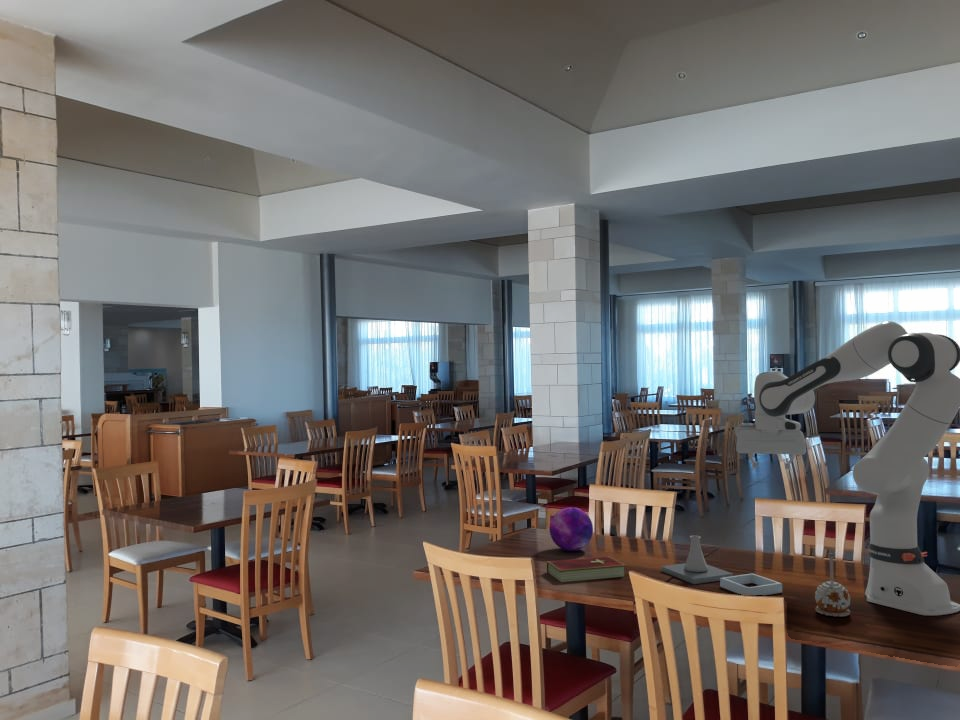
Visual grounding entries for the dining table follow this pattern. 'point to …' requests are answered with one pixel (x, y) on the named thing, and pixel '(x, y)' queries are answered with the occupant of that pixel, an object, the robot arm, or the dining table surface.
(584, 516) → the decorative orb
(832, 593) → the decorative ornament
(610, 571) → the hardcover book
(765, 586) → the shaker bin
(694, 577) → the slate board
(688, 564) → the flask
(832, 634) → the dining table surface
